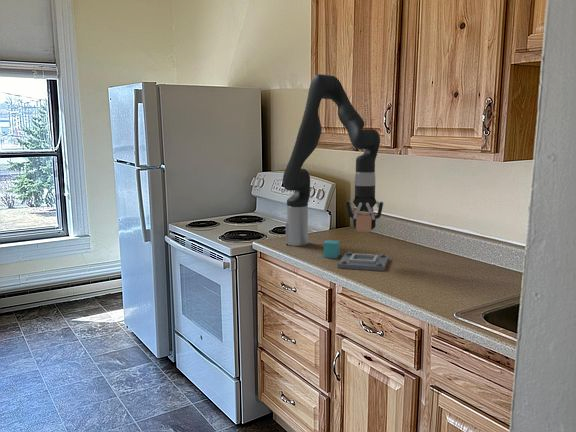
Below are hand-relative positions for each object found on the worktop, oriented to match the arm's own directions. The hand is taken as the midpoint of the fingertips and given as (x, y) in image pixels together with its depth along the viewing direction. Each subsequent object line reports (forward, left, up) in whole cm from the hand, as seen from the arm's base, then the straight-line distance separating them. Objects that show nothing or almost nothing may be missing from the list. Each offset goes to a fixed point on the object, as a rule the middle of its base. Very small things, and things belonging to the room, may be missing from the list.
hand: (364, 228), depth 199 cm
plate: (0, 0, -14) cm, 14 cm away
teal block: (-14, +8, -14) cm, 21 cm away
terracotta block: (0, 0, -1) cm, 1 cm away
